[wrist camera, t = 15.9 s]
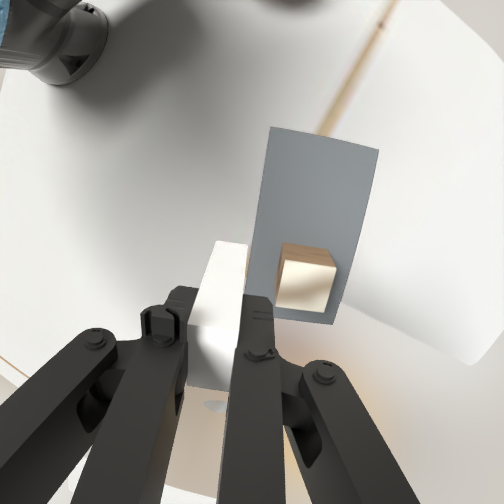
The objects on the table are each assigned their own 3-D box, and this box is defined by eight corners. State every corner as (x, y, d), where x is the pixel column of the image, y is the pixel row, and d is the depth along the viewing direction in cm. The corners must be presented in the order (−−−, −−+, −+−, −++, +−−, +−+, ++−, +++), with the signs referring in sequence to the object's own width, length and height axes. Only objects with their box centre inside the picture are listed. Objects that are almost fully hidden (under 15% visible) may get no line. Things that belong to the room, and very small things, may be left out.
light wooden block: (275, 306, 43) (274, 283, 49) (323, 312, 43) (317, 289, 49) (285, 260, 40) (282, 242, 47) (336, 268, 40) (327, 249, 47)
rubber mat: (270, 126, 41) (270, 126, 40) (377, 149, 41) (378, 149, 41) (241, 312, 52) (241, 312, 52) (332, 323, 52) (332, 324, 52)
